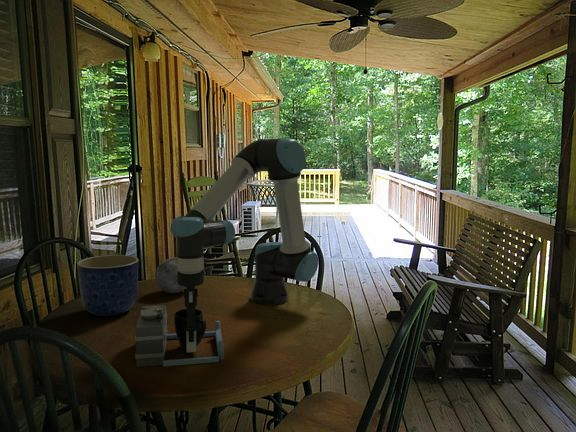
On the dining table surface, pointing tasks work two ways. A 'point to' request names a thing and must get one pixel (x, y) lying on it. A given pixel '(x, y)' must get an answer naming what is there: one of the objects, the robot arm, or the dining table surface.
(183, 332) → the mug
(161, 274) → the decorative orb
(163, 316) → the grey stepped block
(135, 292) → the planter
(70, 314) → the dining table surface
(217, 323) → the clip bracket
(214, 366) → the dining table surface
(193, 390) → the dining table surface
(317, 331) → the dining table surface
